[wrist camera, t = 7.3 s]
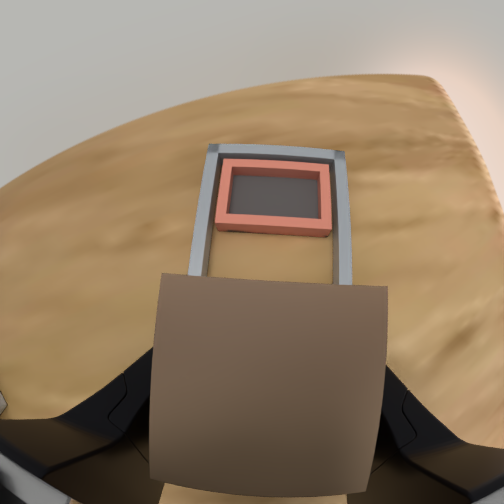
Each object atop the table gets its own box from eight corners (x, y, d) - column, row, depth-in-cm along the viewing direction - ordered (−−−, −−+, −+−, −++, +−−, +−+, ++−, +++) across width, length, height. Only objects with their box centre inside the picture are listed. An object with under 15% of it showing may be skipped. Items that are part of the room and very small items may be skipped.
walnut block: (302, 398, 14) (365, 491, 4) (222, 393, 15) (149, 478, 4) (308, 321, 16) (387, 286, 5) (228, 316, 16) (161, 273, 6)
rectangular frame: (327, 237, 23) (331, 229, 22) (218, 230, 24) (214, 222, 22) (325, 175, 25) (328, 164, 23) (226, 169, 26) (223, 158, 24)
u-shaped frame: (341, 367, 20) (348, 370, 18) (186, 357, 21) (179, 359, 19) (339, 163, 25) (344, 151, 23) (212, 156, 26) (208, 143, 24)
